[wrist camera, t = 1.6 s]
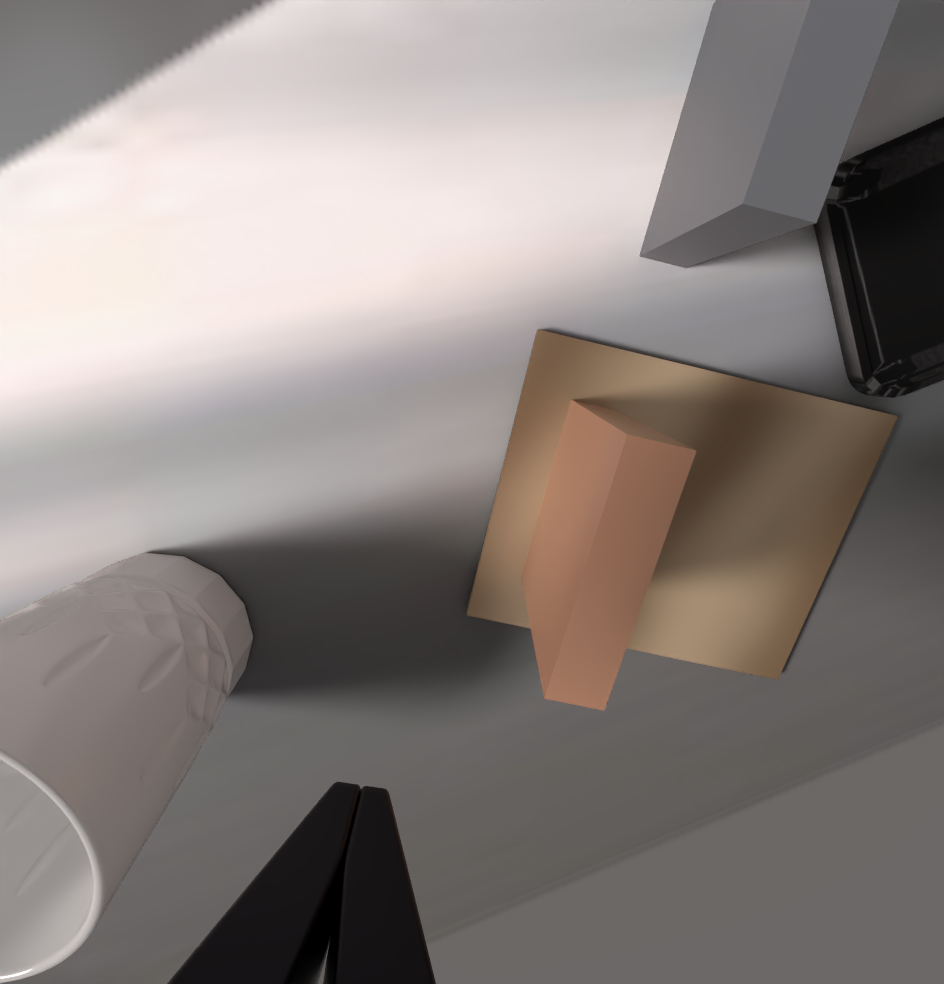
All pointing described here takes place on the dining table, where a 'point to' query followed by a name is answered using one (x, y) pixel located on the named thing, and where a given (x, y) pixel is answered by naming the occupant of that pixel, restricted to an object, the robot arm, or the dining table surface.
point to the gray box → (763, 123)
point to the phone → (888, 262)
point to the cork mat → (696, 498)
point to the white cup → (101, 736)
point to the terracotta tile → (598, 547)
